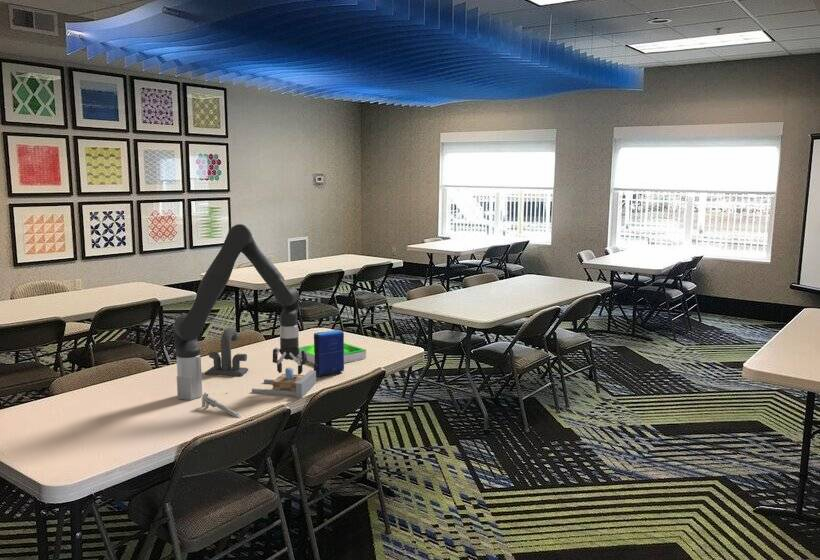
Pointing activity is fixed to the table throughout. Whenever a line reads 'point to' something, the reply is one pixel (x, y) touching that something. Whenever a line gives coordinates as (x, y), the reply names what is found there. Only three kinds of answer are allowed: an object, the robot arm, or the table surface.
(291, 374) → the dowel
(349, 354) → the tray
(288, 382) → the socket block
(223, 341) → the faucet
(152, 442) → the table surface
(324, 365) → the book
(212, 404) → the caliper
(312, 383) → the backstop
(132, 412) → the table surface
